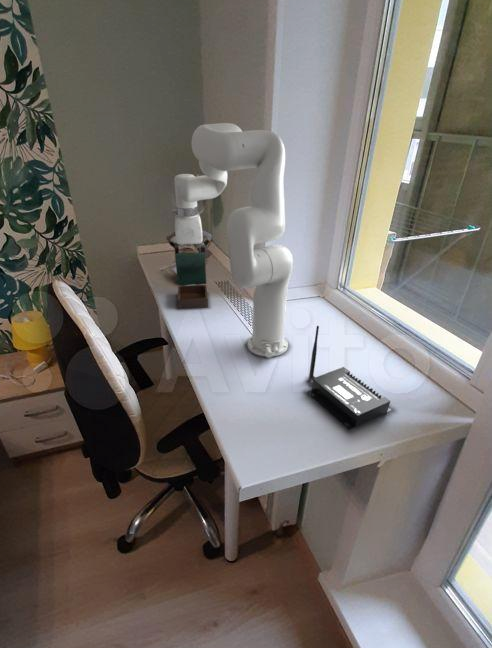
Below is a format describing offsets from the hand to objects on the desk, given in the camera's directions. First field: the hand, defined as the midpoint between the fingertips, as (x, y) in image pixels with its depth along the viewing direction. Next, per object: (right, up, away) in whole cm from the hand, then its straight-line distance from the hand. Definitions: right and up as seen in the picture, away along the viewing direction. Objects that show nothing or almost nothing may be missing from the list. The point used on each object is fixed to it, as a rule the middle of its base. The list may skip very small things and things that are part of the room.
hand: (190, 257), depth 148 cm
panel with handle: (0, -5, -3) cm, 6 cm away
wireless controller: (+43, -48, -49) cm, 81 cm away
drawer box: (+1, -17, 0) cm, 17 cm away
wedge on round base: (-3, -6, +17) cm, 18 cm away
